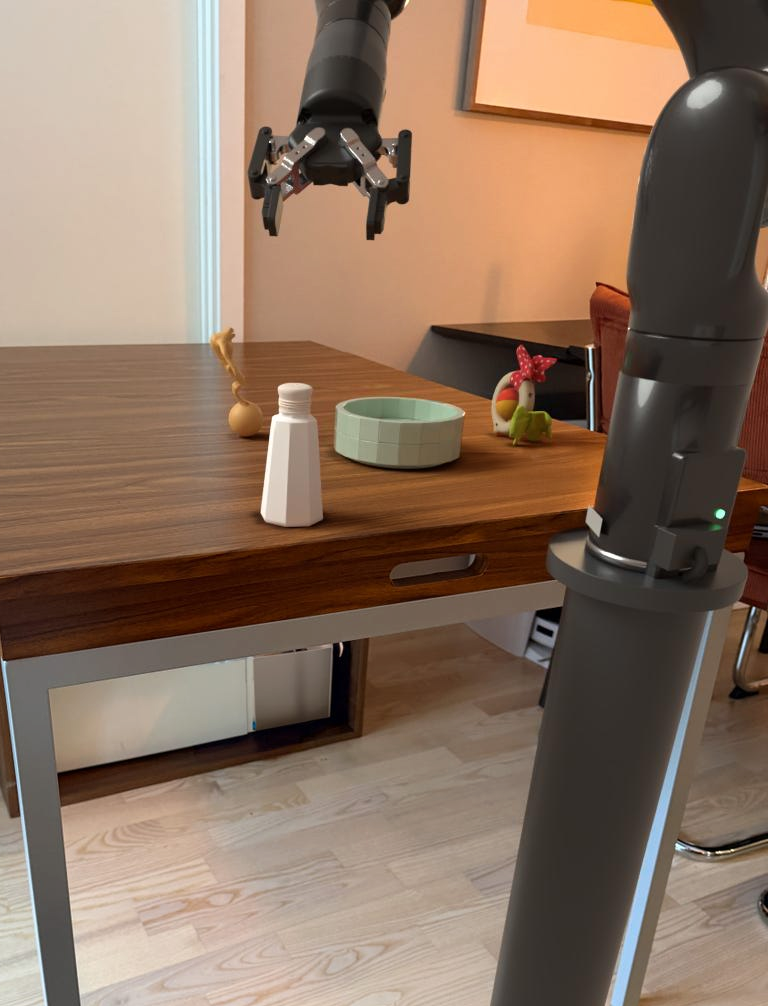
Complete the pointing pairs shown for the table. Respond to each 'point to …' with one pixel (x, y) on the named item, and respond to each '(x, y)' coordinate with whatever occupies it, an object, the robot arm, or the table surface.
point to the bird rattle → (521, 400)
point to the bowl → (398, 431)
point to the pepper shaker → (293, 462)
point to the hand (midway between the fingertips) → (321, 231)
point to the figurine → (236, 387)
